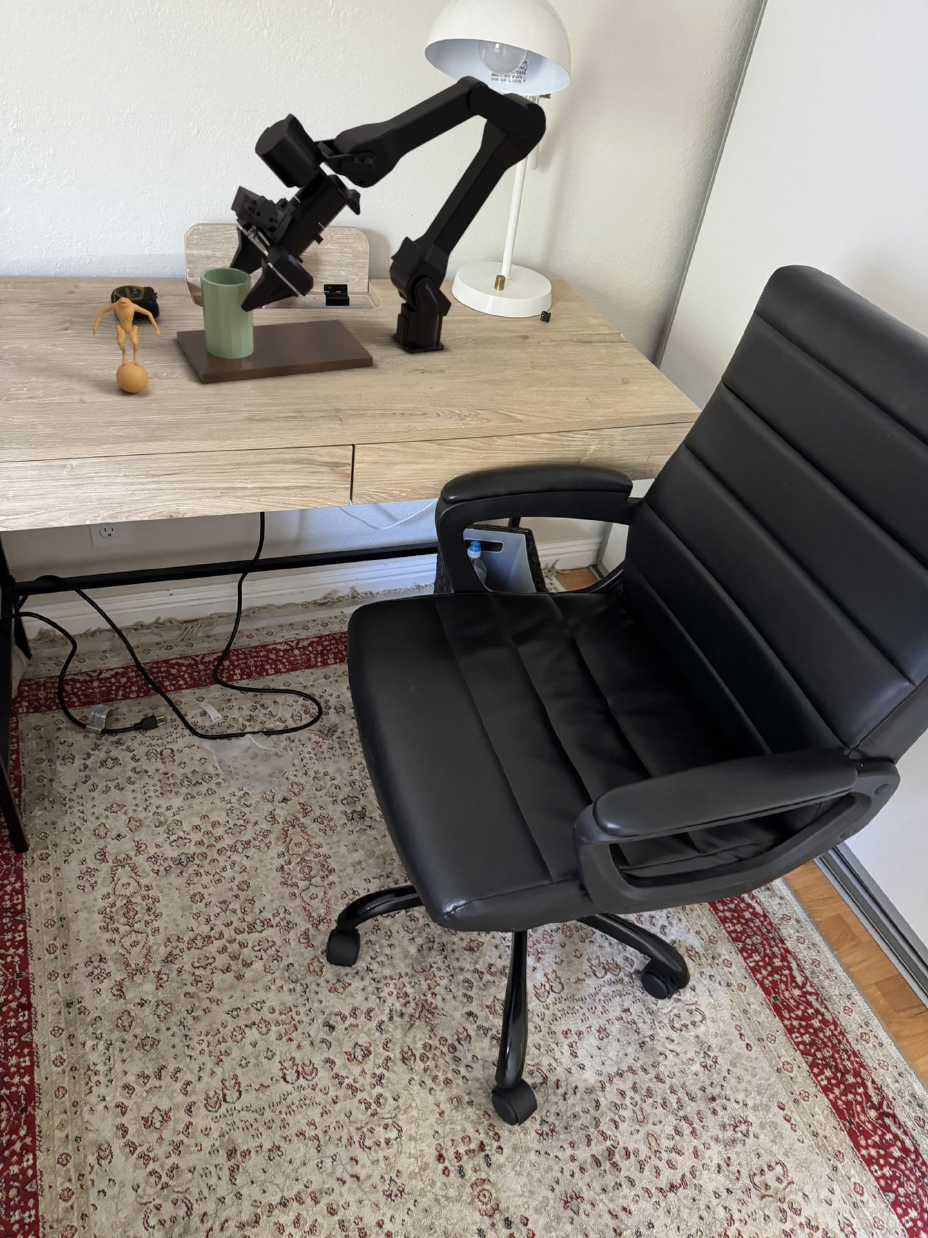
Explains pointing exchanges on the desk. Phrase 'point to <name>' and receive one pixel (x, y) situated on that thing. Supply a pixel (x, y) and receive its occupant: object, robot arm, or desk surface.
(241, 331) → the pencil cup
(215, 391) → the desk surface
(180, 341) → the walnut board
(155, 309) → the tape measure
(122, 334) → the figurine
